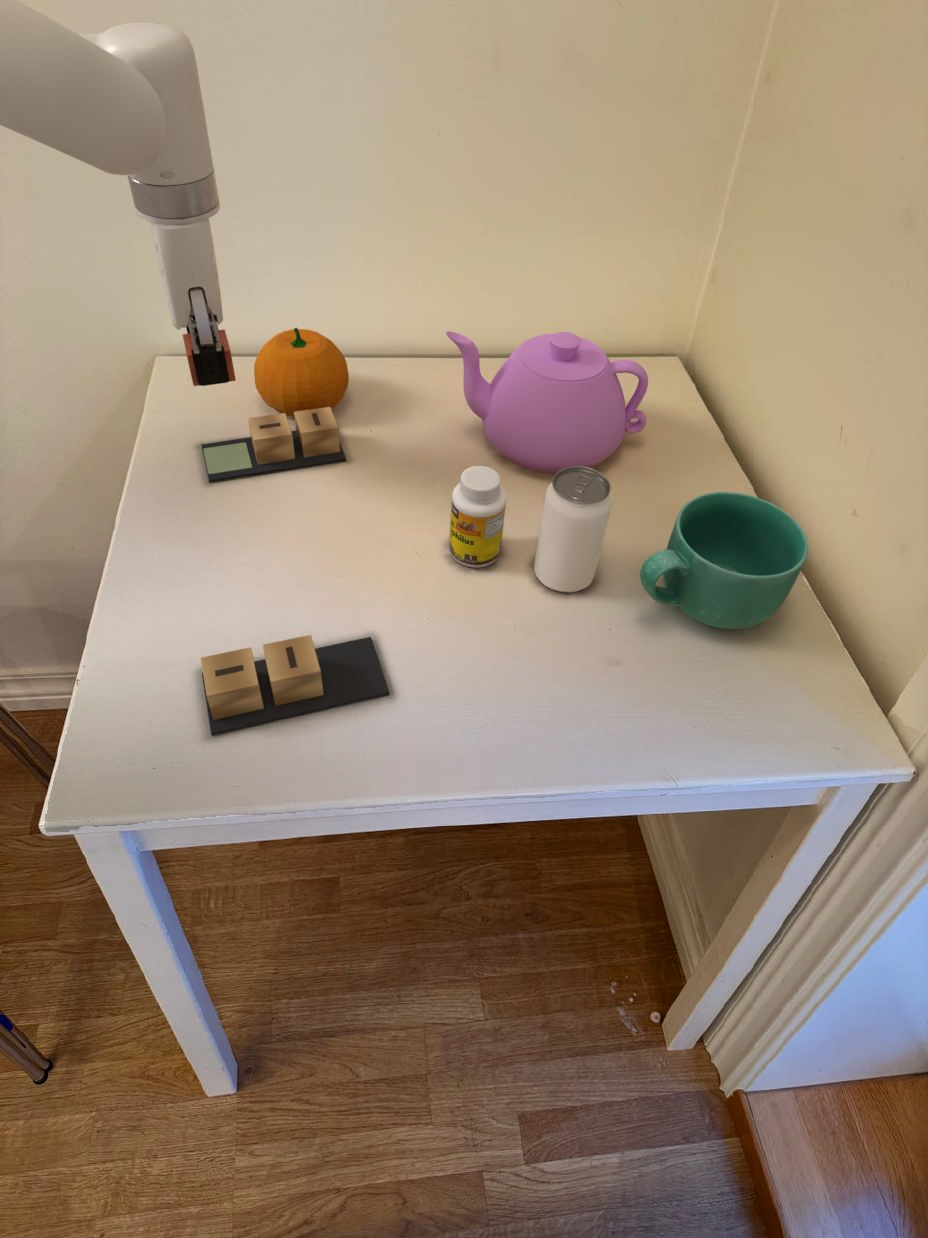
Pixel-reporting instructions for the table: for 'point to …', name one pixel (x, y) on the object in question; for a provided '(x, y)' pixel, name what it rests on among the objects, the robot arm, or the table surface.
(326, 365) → the fruit
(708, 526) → the mug
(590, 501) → the can
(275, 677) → the wooden cube
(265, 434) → the pair of dash-marked blocks
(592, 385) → the teapot
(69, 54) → the robot arm
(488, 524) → the supplement bottle
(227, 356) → the striped orange cube
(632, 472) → the table surface
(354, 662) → the front mat
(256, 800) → the table surface
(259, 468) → the back mat
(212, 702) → the wooden cube
